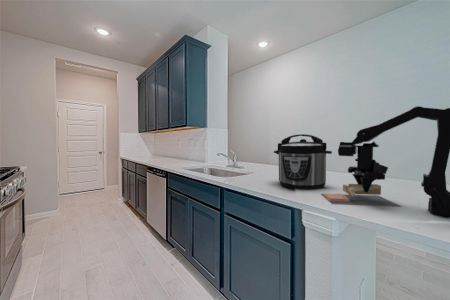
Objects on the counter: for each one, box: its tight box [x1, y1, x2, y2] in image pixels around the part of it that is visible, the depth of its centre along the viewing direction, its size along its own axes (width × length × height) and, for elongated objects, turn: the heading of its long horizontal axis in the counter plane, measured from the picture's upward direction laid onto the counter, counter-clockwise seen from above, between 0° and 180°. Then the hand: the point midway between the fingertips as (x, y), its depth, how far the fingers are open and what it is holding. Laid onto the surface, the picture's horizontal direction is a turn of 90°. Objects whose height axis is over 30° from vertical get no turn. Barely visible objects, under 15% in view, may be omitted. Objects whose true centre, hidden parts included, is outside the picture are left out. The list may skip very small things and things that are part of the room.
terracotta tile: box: [323, 192, 349, 203], centre depth 91 cm, size 8×2×8 cm
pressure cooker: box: [273, 134, 333, 190], centre depth 121 cm, size 30×28×32 cm
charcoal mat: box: [320, 193, 403, 208], centre depth 91 cm, size 16×27×1 cm, turn 81°
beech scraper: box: [342, 183, 382, 196], centre depth 89 cm, size 9×13×4 cm
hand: (364, 191), depth 89 cm, fingers closed on beech scraper, 3 cm apart
